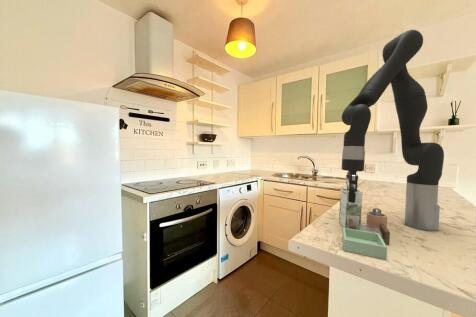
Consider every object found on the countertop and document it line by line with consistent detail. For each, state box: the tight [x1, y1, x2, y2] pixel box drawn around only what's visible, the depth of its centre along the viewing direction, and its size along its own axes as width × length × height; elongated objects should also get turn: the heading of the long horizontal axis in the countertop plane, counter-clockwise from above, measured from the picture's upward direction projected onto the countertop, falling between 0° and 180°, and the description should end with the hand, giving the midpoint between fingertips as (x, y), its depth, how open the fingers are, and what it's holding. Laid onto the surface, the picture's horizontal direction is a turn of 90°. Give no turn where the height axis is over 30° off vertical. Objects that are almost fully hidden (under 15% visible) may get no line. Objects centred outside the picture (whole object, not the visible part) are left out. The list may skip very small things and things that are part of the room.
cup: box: [365, 211, 388, 230], centre depth 74 cm, size 6×6×6 cm
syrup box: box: [338, 188, 363, 228], centre depth 77 cm, size 6×6×14 cm
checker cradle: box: [348, 219, 391, 246], centre depth 68 cm, size 11×8×4 cm
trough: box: [342, 227, 388, 260], centre depth 61 cm, size 10×10×3 cm
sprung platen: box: [355, 223, 382, 237], centre depth 68 cm, size 7×7×1 cm
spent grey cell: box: [371, 207, 382, 216], centre depth 74 cm, size 3×3×8 cm
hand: (350, 200), depth 77 cm, fingers open, 8 cm apart
